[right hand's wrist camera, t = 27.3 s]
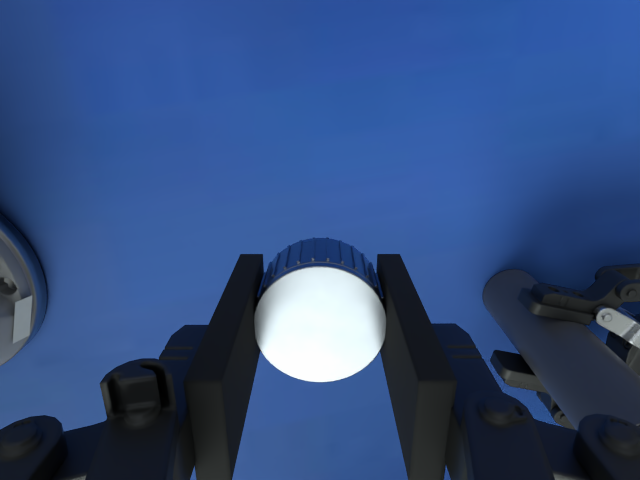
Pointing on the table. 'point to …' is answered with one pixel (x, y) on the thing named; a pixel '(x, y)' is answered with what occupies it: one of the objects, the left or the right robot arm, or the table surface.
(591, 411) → the dark grey long cylinder
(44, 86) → the table surface
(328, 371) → the cap
